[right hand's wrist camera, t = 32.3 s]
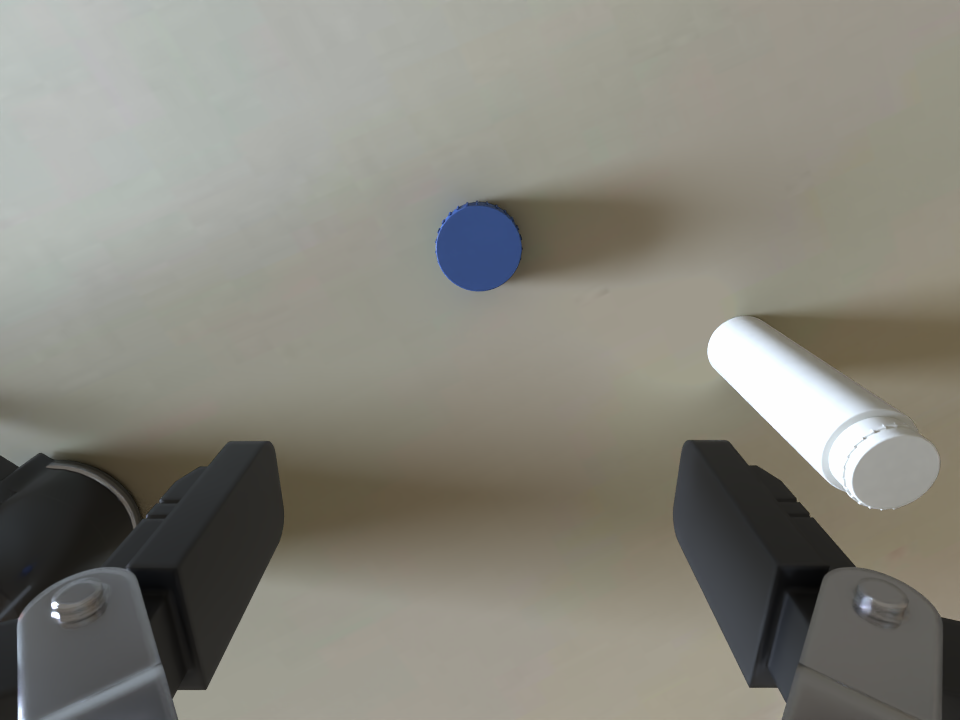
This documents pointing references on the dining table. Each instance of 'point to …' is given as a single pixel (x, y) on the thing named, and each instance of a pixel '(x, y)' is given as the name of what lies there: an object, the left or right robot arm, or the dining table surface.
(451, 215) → the lid
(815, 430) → the bottle
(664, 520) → the dining table surface
